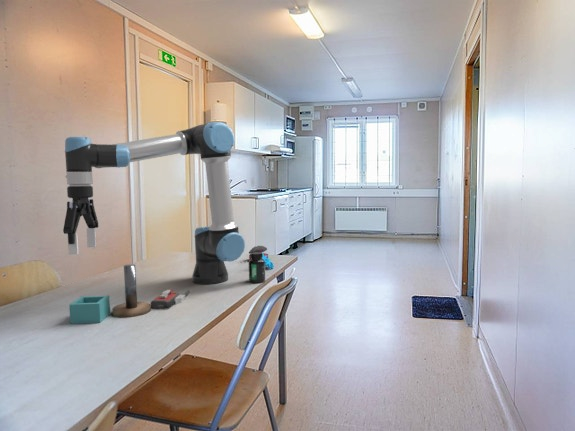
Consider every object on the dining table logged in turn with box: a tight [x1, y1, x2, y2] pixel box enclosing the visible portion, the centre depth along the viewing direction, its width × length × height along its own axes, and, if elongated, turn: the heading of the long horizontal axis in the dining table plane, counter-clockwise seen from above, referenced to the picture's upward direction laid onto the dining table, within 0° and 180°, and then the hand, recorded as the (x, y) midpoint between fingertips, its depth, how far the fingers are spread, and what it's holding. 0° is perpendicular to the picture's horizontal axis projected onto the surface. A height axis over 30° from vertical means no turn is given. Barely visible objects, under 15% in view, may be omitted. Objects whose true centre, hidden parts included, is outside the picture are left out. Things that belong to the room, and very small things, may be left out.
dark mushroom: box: [248, 245, 269, 260], centre depth 229 cm, size 11×10×10 cm
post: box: [123, 263, 138, 309], centre depth 146 cm, size 4×4×14 cm
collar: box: [68, 295, 111, 325], centre depth 140 cm, size 9×9×6 cm
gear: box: [261, 252, 275, 270], centre depth 210 cm, size 11×6×10 cm
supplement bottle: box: [248, 252, 266, 284], centre depth 184 cm, size 7×7×12 cm
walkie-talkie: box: [150, 289, 191, 310], centre depth 158 cm, size 9×4×20 cm
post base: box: [111, 301, 152, 318], centre depth 147 cm, size 12×12×2 cm
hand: (83, 250), depth 145 cm, fingers open, 13 cm apart
